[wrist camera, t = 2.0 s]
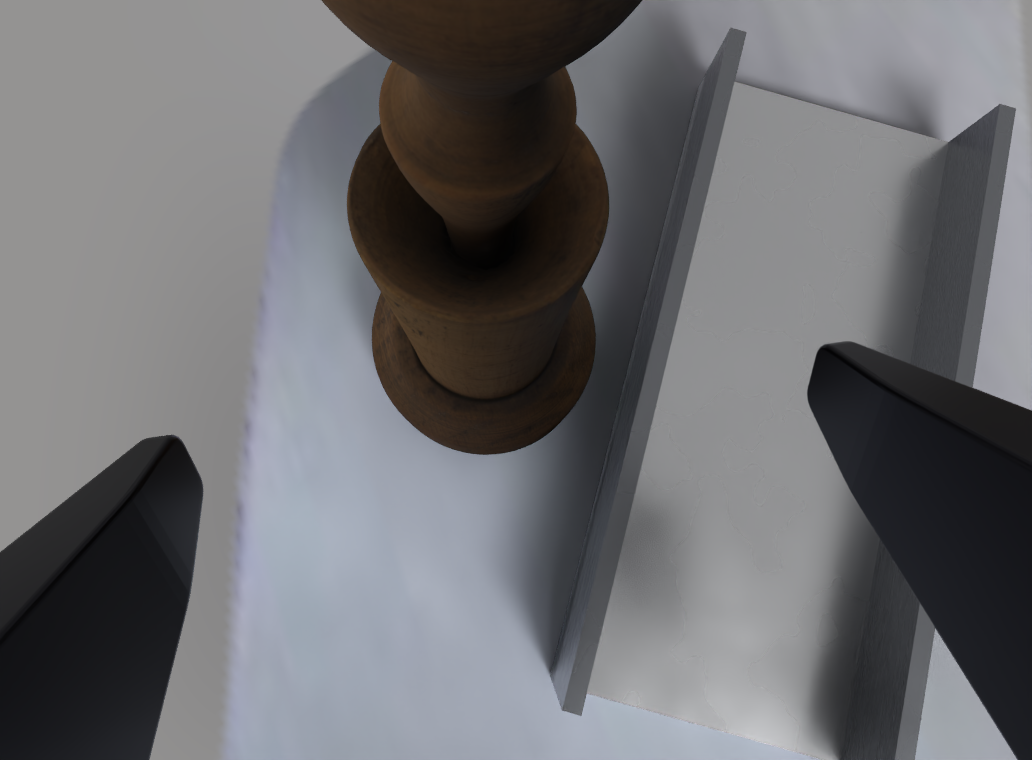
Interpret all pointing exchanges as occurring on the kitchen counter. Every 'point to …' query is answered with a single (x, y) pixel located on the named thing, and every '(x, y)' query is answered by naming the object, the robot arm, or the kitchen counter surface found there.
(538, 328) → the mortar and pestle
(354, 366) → the kitchen counter surface
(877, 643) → the floor track
